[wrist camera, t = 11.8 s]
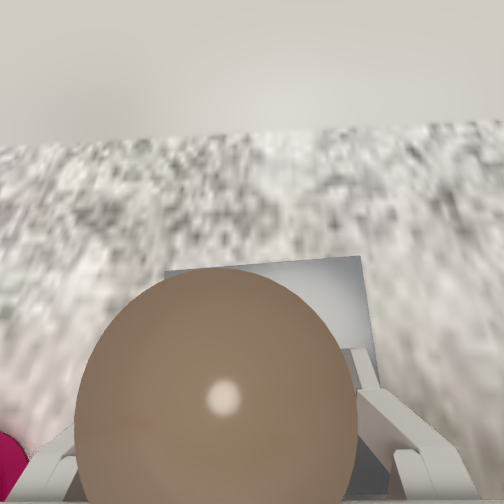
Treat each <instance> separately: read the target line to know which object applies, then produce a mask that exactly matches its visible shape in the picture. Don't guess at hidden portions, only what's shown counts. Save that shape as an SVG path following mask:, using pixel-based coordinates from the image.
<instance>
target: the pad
mask: <svg viewBox="0 0 504 504" xmlns="http://www.w3.org/2000/svg"><path fill="white" fill-rule="evenodd" d="M212 268H228V269H238V270H243V271H247V272H252V273H255V274H258V275H261V276H263V277H266V278H269V279H271V280H273V281H275V282H277V283H279V284H281V285H283V286H284V287H286V288H287V289H289V290H290V291H292V292H293V293H295V294H296V295H297V296H299V297H300V298H301V299H302V300H303V301H304V302H306V303H307V304H308V305H309V306H310V307H311V308H312V309H313V310H314V311H315V312H316V313H317V315H318V316H319V317H320V318H321V319H322V320H323V322H324V323H325V324H326V326H327V327H328V329H329V330H330V332H331V333H332V335H333V336H334V338H335V339H336V341H337V343H338V345H339V347H340V349H341V348H358V347H365V348H366V349H367V352H368V355H369V358H370V361H371V363H372V366H373V369H374V372H375V374H376V377H377V380H378V383H379V385H380V381H379V375H378V368H377V362H376V355H375V349H374V342H373V336H372V329H371V323H370V316H369V310H368V303H367V297H366V290H365V284H364V277H363V271H362V264H361V258H360V256H350V257H337V258H325V259H312V260H299V261H287V262H274V263H262V264H249V265H237V266H224V267H212ZM200 269H208V268H199V269H187V270H174V271H165V275H164V280H166V279H168V278H170V277H173V276H176V275H179V274H182V273H185V272H188V271H194V270H200ZM389 478H390V473H389V472H388V471H387V469H386V468H385V467H384V466H383V465H382V463H381V462H380V461H379V460H378V458H377V457H376V456H375V455H374V454H373V452H372V451H371V450H370V449H369V447H368V446H367V445H366V444H365V442H364V441H363V440H362V439H361V438H360V436H359V435H358V442H357V449H356V456H355V463H354V466H353V470H352V474H351V477H350V481H349V485H348V487H347V490H346V492H345V494H387V491H388V485H389Z"/></svg>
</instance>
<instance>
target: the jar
mask: <svg viewBox="0 0 504 504" xmlns="http://www.w3.org/2000/svg"><path fill="white" fill-rule="evenodd" d="M357 442H358V413H357V404H356V395H355V391H354V387H353V382H352V378H351V374H350V372H349V369H348V366H347V363H346V360H345V358H344V355H343V353H342V351H341V349H340V347H339V345H338V343H337V341H336V339H335V338H334V336H333V335H332V333H331V332H330V330H329V329H328V327H327V326H326V324H325V323H324V322H323V320H322V319H321V318H320V317H319V316H318V315H317V313H316V312H315V311H314V310H313V309H312V308H311V307H310V306H309V305H308V304H307V303H306V302H304V301H303V300H302V299H301V298H300V297H299V296H297V295H296V294H295V293H293V292H292V291H290V290H289V289H287V288H286V287H284V286H283V285H281V284H279V283H277V282H275V281H273V280H271V279H269V278H266V277H263V276H261V275H258V274H255V273H252V272H247V271H243V270H238V269H228V268H208V269H200V270H194V271H188V272H185V273H182V274H179V275H176V276H173V277H170V278H168V279H166V280H164V281H161V282H159V283H157V284H156V285H154V286H152V287H151V288H149V289H147V290H146V291H144V292H143V293H141V294H140V295H139V296H137V297H136V298H135V299H134V300H132V301H131V302H130V303H129V304H128V305H127V306H126V307H125V308H124V309H123V310H122V311H121V312H120V313H119V314H118V315H117V316H116V317H115V318H114V320H113V321H112V322H111V323H110V325H109V326H108V327H107V328H106V330H105V331H104V333H103V335H102V336H101V338H100V339H99V341H98V342H97V344H96V346H95V348H94V350H93V352H92V354H91V356H90V358H89V360H88V363H87V366H86V368H85V371H84V374H83V376H82V380H81V384H80V388H79V392H78V396H77V402H76V409H75V416H74V444H75V455H76V461H77V466H78V471H79V476H80V480H81V483H82V486H83V489H84V492H85V495H86V498H87V500H88V502H89V504H341V502H342V499H343V497H344V494H345V492H346V490H347V487H348V485H349V481H350V477H351V474H352V470H353V466H354V463H355V456H356V449H357Z"/></svg>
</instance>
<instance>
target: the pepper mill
mask: <svg viewBox="0 0 504 504" xmlns="http://www.w3.org/2000/svg"><path fill="white" fill-rule="evenodd" d="M27 465H28V462H27V460H26V457H25V455H24V453H23V450H22V449H21V448H20V446H19V445H18V444H17V443H16V441H15V440H14V439H12V438H11V437H9V436H7V435H5V434H3V433H1V432H0V502H5V500H6V498H7V497H8V495H9V494H10V492H11V490H12V489H13V487H14V486H15V484H16V483H17V481H18V479H19V478H20V476H21V475H22V473H23V471H24V470H25V468H26V467H27Z"/></svg>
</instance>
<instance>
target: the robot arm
mask: <svg viewBox="0 0 504 504" xmlns="http://www.w3.org/2000/svg"><path fill="white" fill-rule="evenodd" d="M341 351H342V353H343V355H344V358H345V360H346V363H347V366H348V369H349V372H350V374H351V378H352V382H353V387H354V391H355V395H356V404H357V413H358V435H359V436H360V438H361V439H362V440H363V441H364V442H365V444H366V445H367V446H368V447H369V449H370V450H371V451H372V452H373V454H374V455H375V456H376V457H377V458H378V460H379V461H380V462H381V463H382V465H383V466H384V467H385V468H386V469H387V471H388V472H389V473H390V478H389V485H388V491H387V498H386V500H342V502H341V504H504V500H482V499H481V497H480V495H479V493H478V491H477V489H476V487H475V485H474V483H473V481H472V479H471V477H470V475H469V473H468V471H467V469H466V467H465V465H464V463H463V461H462V459H461V457H460V455H459V453H458V451H457V449H456V447H455V446H453V445H452V444H451V443H450V442H449V441H447V440H446V439H445V438H444V437H443V436H441V435H440V434H439V433H438V432H437V431H435V430H434V429H433V428H432V427H431V426H429V425H428V424H427V423H426V422H425V421H424V420H422V419H421V418H420V417H419V416H418V415H416V414H415V413H414V412H413V411H412V410H410V409H409V408H408V407H407V406H406V405H404V404H403V403H402V402H401V401H400V400H399V399H397V398H396V397H395V396H394V395H393V394H391V393H390V392H389V391H388V390H387V389H381V388H380V385H379V383H378V380H377V377H376V374H375V372H374V369H373V366H372V363H371V361H370V358H369V355H368V352H367V349H366V348H365V347H358V348H341ZM0 504H89V502H88V500H87V498H86V495H85V492H84V489H83V486H82V483H81V480H80V476H79V471H78V466H77V461H76V455H75V444H74V423H73V424H71V425H70V426H69V427H68V428H67V429H65V430H64V431H63V432H62V433H60V434H59V435H58V436H57V437H55V438H54V439H53V440H52V441H51V442H49V443H48V444H47V445H46V446H44V447H43V448H42V449H41V450H39V451H38V452H37V453H36V454H35V455H33V457H32V459H31V460H30V462H29V463H28V465H27V467H26V468H25V470H24V471H23V473H22V475H21V476H20V478H19V479H18V481H17V483H16V484H15V486H14V487H13V489H12V490H11V492H10V494H9V495H8V497H7V498H6V500H5V502H0Z"/></svg>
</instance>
